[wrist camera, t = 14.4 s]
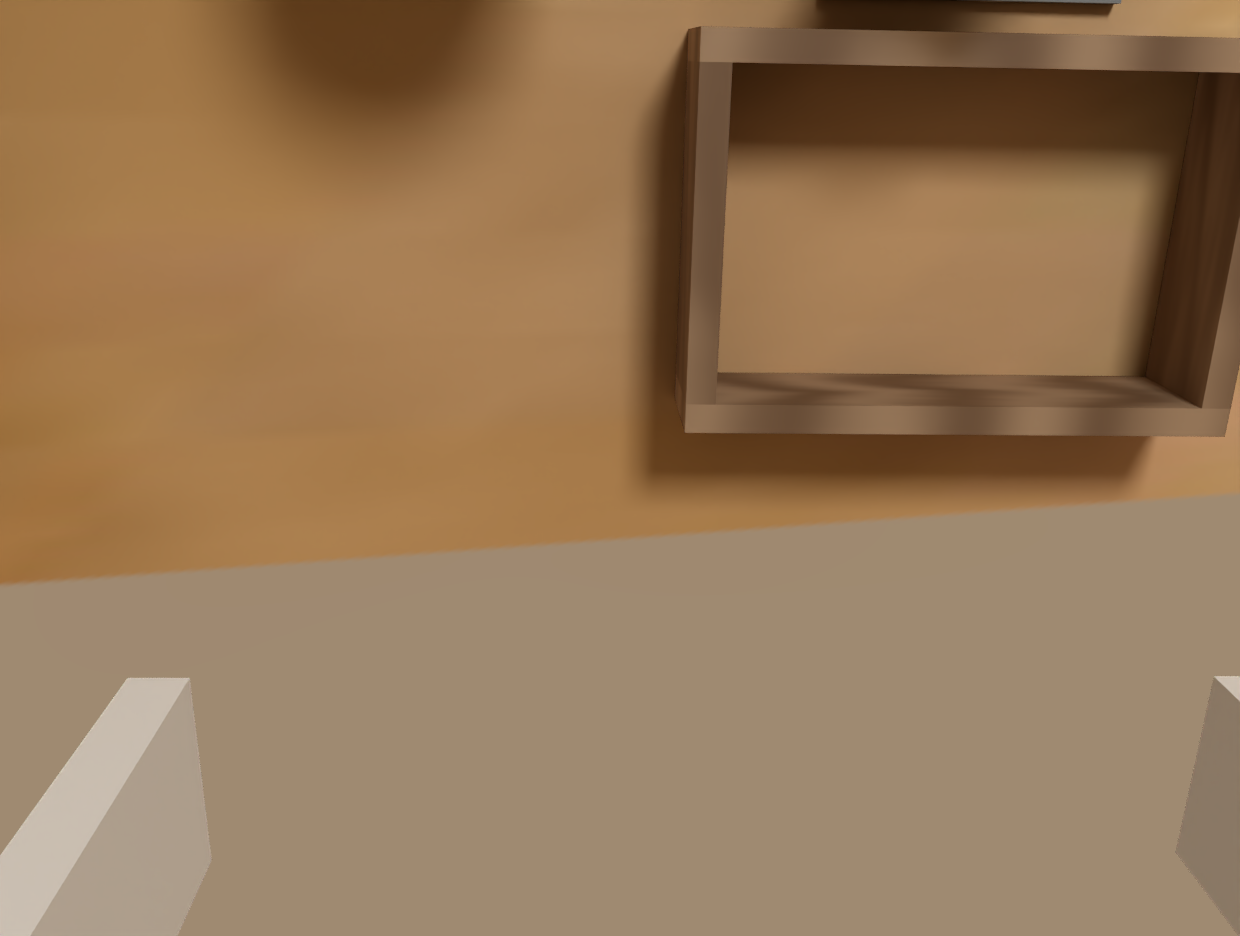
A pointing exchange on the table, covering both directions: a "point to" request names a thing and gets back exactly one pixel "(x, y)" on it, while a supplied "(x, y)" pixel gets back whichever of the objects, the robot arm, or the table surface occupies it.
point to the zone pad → (1060, 1)
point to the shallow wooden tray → (976, 404)
